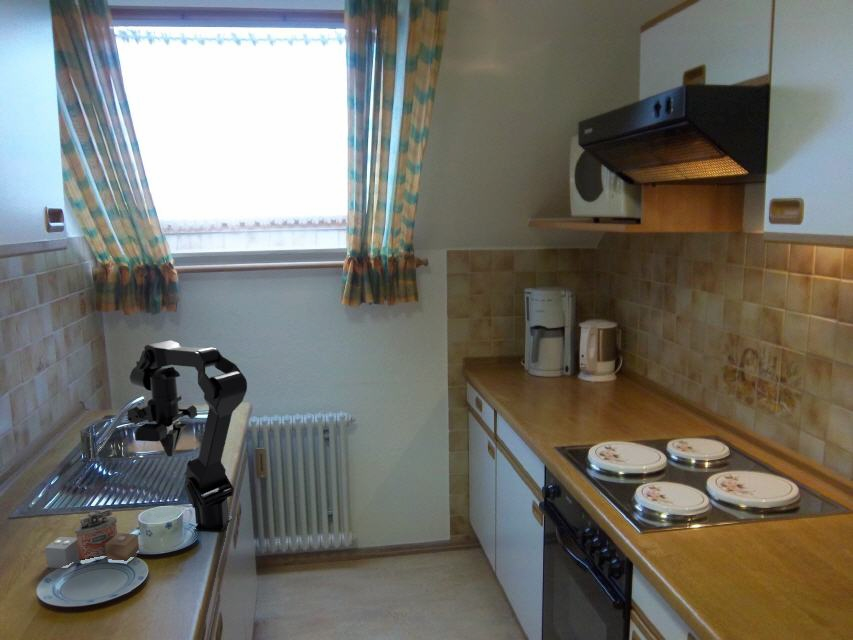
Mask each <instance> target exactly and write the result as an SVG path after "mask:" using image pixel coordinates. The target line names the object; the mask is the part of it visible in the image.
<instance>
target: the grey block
mask: <svg viewBox="0 0 853 640" xmlns="http://www.w3.org/2000/svg"><path fill="white" fill-rule="evenodd" d="M44 551H45V559H46V565H47V568H53V569H61V568H60V567H63V566H66V565H69V564H70V563H72V562H75V561H76V562H78V561H79V559H78V558H79V551H78V543H77V537H73V536H72V537H70V536H59V537H57V538H55V540H53V541H51V543H49V544H48V545H47V546H45V548H44ZM76 562H75V563H76Z"/></svg>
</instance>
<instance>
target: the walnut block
mask: <svg viewBox="0 0 853 640" xmlns="http://www.w3.org/2000/svg"><path fill="white" fill-rule="evenodd" d="M105 546H106V555H107V558H106V560H107V559H112V560H124V561H127V560H128V559H129V558H130V557H135V558H137V556H138V555H137V554H136V552H137V551H138V550H139V551H140V545H139V536H138V534H137V533H124V532H117V534H116V535H115V536H114V537H113V538H111V539H110V540H109V541H108V542H107V543H105Z"/></svg>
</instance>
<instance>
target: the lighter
mask: <svg viewBox="0 0 853 640" xmlns="http://www.w3.org/2000/svg"><path fill="white" fill-rule="evenodd" d="M112 515H113V509H112V508H106V509H103V510H99V511H98V512H95V511H90V512H89V513H88V515H84V516H81V517H80V518H79V519H80V520H79V521H80V522H79V523H80V524H81V525H78V526H77V527H75V528H74V534H75V535H76V538H77V543H78V551H79V558H78V559H79V560H78V562H79V561H81V560H85V559H90V558H94V557H100V556H107V555H106V546H105V543H107V542H108V541H109V540H110V539H111V538H113V537H114V536H115V535H116V534H117V533H118V529H117V523H118V521H117V520H118V519H117V517H116V516H112Z"/></svg>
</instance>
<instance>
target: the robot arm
mask: <svg viewBox="0 0 853 640" xmlns="http://www.w3.org/2000/svg"><path fill="white" fill-rule="evenodd" d="M135 363H136V366H135V367H133V368H132V370H131V372H130V375H129V380H130V383H131V384H132V385H133V386H134V387H136V388H140V389H143V390H147V391H151V398H150V399H149V400H148V401H147V404H143V405H142V406H140V407H138V406H135V407H131V408H129V409H128V410H127V421H128V422H129V423H133V424H134V426H135V425H138V424H139V423H141V422H144V421H147V422H148V423H144V424H142V425H141V426H139V427H137V428H136V430H134V440H135V441H136V442H160V444H161V446H162V448H163V450H164V452H165V453H166V456H167V457H173V456H174V454H175V451H176V449H177V447H178V444H179V441H180V439H181V436H182V434H183V432H184V430H185V428H186V426H187V424H186V423H181V421H180V419H182V418H183V417H185V416H187V417H188V418H189V419H190V420H191V419H194V418H196V417H197V416H198V411H197V410H198V409H197V407H196V406H194V404H179V401H181V400H182V394H181V395H179V394H178V385H177V378H178V377H181V374H180V373H179V372H180V371H178V370H177V369H175V368H174V366H178V367H179V366H180V367H190V368H195V370H196V371H197V385H198V386H199V388H200V389H201V390H202V392H203V399H204V401H205V403H206V404H207V406H208V412H207V417H206V422H205V425H204V431H203V435H202V440H201V445H200V449H199V453H198V457H196V458H192V459H190V460H188V461H187V463H186V471H185V472H184V476H185V479H184V480H185V481H184V488H185V490H186V495H187V497H188V501H189V504H190V505H192V506H191V507H192V508H193V509H194V514H195V524H196V526H195V527H194V528H196V529H199V530H198V531H200V532H201V531H203V532H218V533H220V532H222V531H223V530H224V529H225V528H226V527H227V526H228V524H229V523H230V522H231V521H232V520H233V516H231V515H229V503H228V502H229V499H228V498H230V497H234V492H235V491H234V490H235V488H234V486H233V484H232V483H231V481H230V479H229V477H228V476H227V473H226V468H225V466H224V464H223V463H222V458H223V454H224V450H225V445H226V441H227V437H228V433H229V429H230V428H229V427H230V425H231V420H232V415H233V412H234V411H235V410H236V409H237V408H238V407H239V406H240V405H241V403H242V402H243V401H244V398H245V396H246V394H247V390H248V381H247V379H246V377H245V375H244V374H243V373H242V371H241V370H240V369H239V367H238V366H237V364H235V363H234V362H232V361H230V360H229V359H228V358H226V357H224V356H222V354H221V352H220V351H219V350H218V349H217V348H215V347H208V348H205V347H193V346H192V347H190V346H181V345H180V343H179V342H176V341H175V340H170V339H169V340H165V341H160V342H155V343H150V344H146V345H144V348H143V350H142V352H141V355H140V357H139V360H137V361H135ZM168 366H170V367H168ZM210 367H214V368H216V369H217V370H219V371H220V372H222V373H223V374H222V373H221V374H218V375H214V376H212V377H211V376H210V377H209V376H208V375H207V373H206V368H210ZM153 422H155V423H153Z"/></svg>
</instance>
